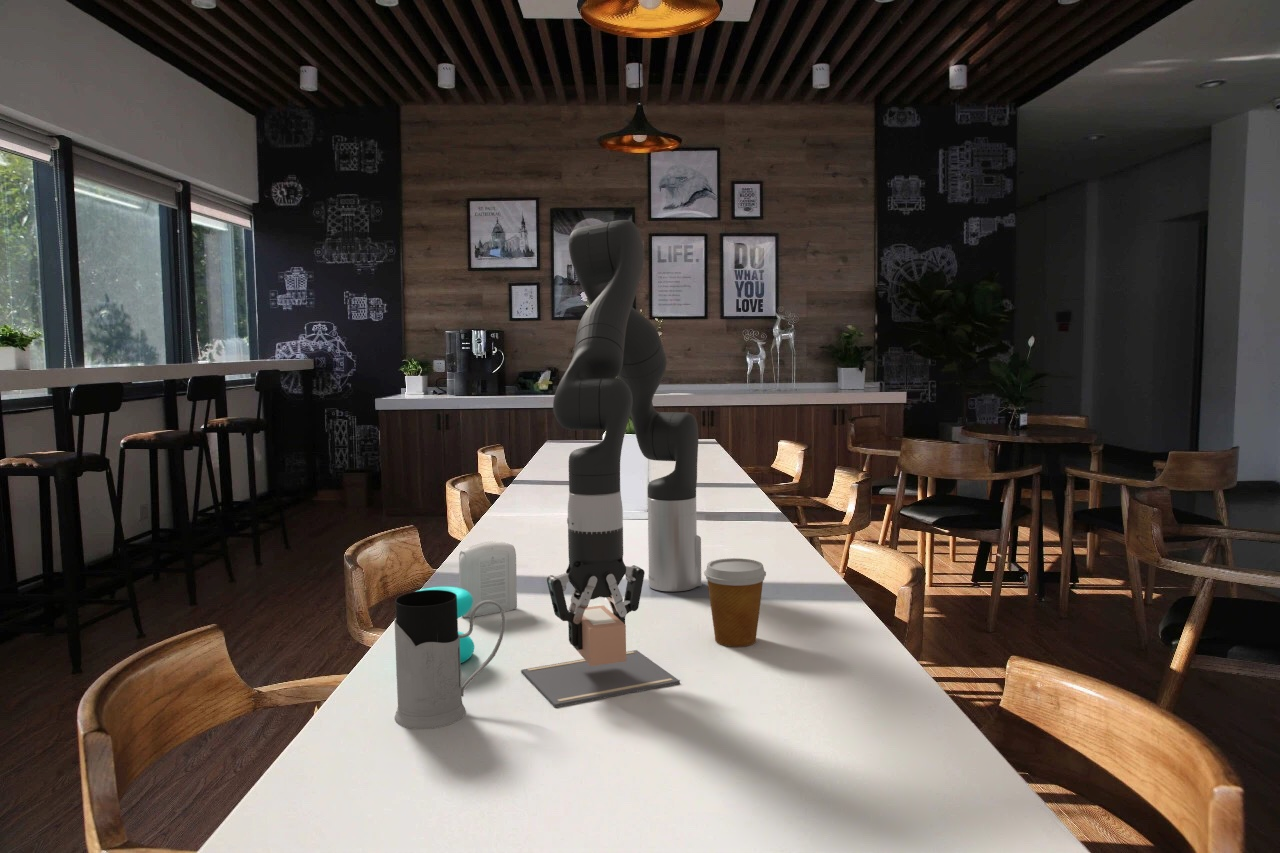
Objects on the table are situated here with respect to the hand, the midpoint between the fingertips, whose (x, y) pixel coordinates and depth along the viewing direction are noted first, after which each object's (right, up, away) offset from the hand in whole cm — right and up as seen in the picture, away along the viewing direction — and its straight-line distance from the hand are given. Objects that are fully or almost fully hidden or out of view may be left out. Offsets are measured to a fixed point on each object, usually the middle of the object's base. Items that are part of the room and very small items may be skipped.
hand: (597, 644), depth 126 cm
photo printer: (-20, -2, +33) cm, 39 cm away
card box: (0, -1, 0) cm, 1 cm away
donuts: (-24, -5, +9) cm, 26 cm away
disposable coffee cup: (+21, -3, +15) cm, 26 cm away
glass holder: (-18, -6, -10) cm, 22 cm away
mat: (0, -5, 0) cm, 5 cm away
